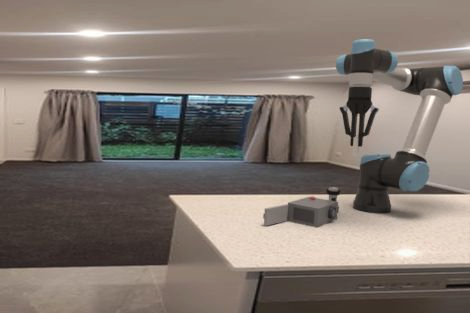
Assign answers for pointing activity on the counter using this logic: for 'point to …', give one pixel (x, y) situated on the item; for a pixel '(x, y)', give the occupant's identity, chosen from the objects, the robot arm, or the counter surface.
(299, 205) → the housing
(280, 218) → the door
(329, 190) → the push button
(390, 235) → the counter surface
